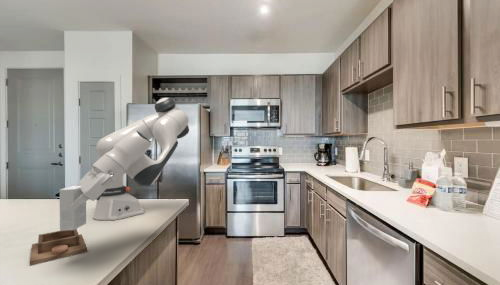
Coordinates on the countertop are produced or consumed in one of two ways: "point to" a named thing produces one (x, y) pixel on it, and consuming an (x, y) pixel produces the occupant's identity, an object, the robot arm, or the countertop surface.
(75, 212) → the skincare box
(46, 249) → the organiser tray
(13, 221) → the countertop surface
